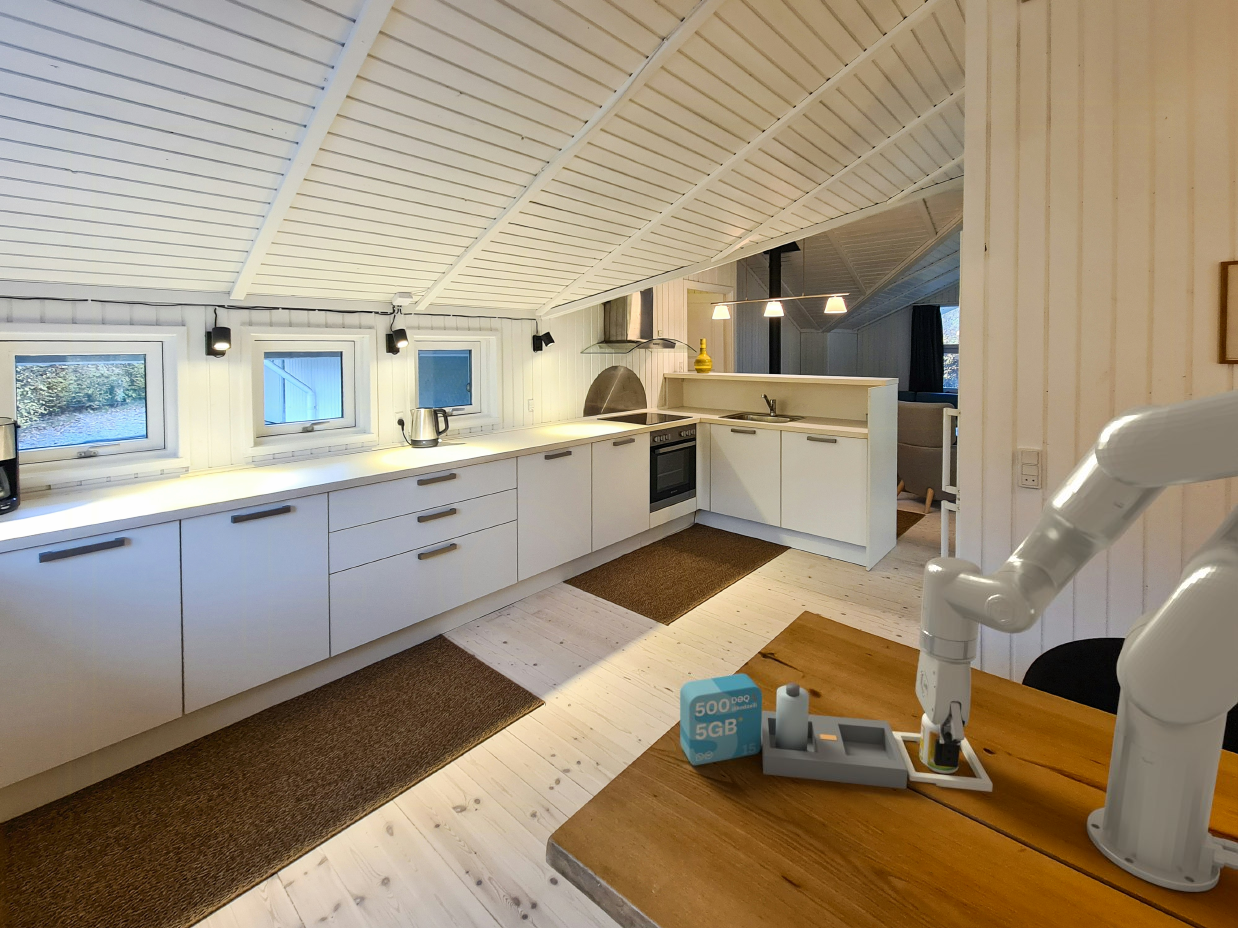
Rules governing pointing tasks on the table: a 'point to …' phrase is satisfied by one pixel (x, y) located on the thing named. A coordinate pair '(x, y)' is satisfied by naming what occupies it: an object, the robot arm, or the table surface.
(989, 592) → the robot arm
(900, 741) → the tray frame
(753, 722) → the data package
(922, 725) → the supplement bottle
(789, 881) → the table surface
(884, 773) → the grey compartment tray
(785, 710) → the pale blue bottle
